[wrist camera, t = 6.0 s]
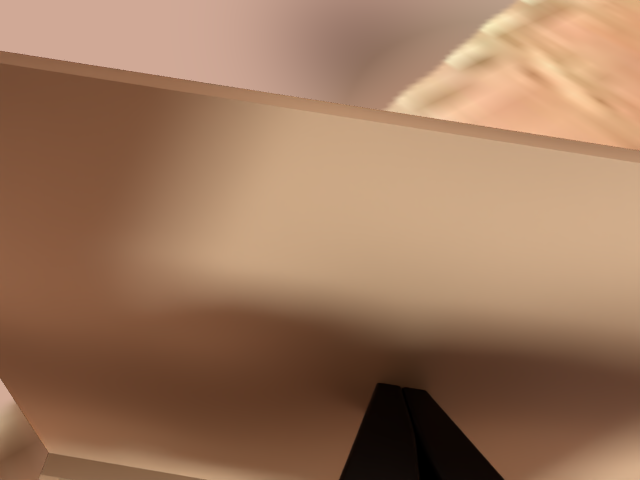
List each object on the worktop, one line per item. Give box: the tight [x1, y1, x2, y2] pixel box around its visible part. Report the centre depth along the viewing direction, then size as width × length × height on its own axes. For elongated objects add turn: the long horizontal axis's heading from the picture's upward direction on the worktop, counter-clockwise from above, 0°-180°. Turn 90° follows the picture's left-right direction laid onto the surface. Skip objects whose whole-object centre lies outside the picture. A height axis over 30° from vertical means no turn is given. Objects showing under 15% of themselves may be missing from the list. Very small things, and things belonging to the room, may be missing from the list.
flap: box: [0, 51, 640, 480], centre depth 7 cm, size 10×16×1 cm
